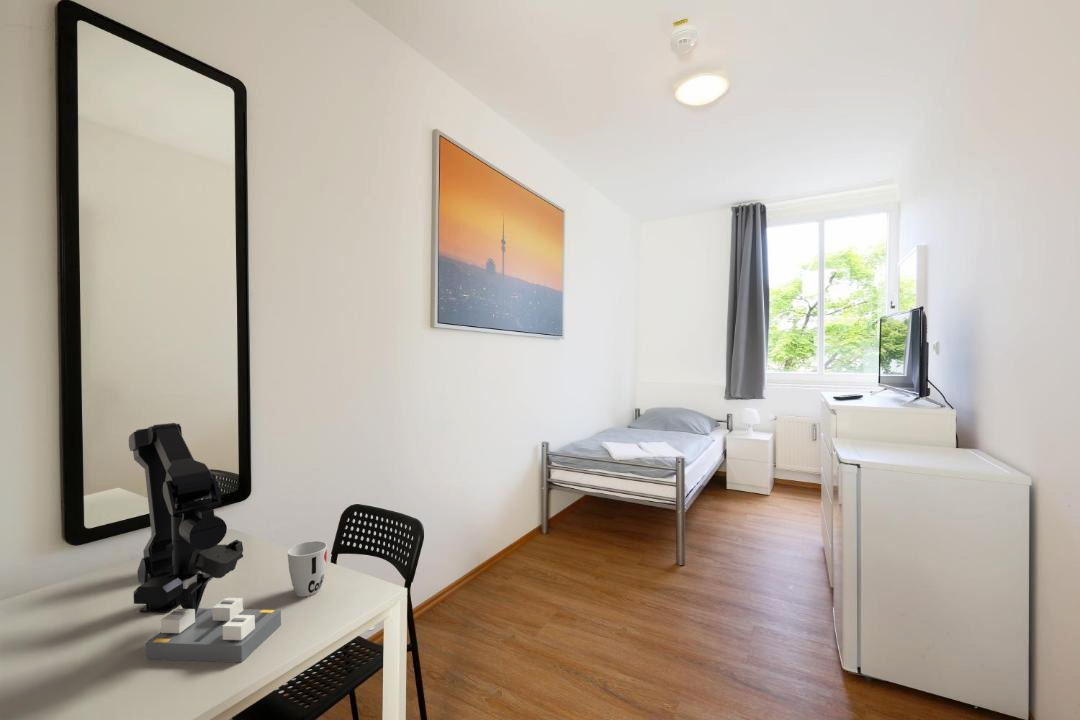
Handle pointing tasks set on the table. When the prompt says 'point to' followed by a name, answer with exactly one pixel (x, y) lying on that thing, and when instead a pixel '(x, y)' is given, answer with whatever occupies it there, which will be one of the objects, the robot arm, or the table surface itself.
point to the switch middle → (227, 609)
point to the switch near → (177, 621)
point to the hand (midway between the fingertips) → (192, 614)
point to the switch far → (238, 627)
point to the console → (212, 639)
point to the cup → (307, 567)
